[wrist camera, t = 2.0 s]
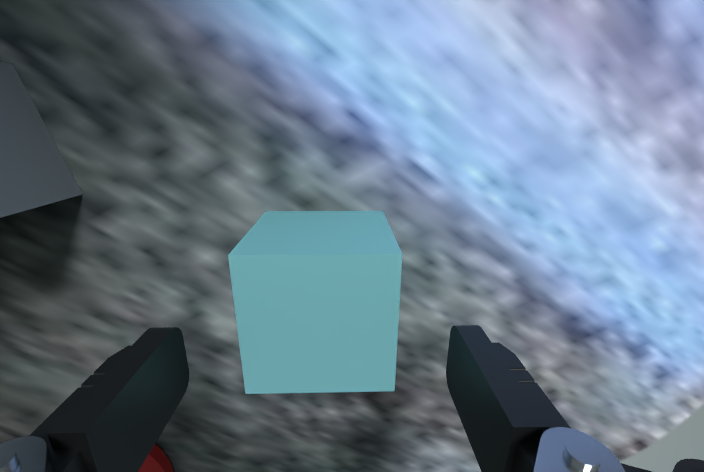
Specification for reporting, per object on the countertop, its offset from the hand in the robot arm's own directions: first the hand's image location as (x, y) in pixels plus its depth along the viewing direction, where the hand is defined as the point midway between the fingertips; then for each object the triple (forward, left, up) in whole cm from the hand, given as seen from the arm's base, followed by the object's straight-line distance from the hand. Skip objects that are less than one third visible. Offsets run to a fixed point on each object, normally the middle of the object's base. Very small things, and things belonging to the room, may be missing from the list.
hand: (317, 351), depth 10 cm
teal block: (0, 0, -6) cm, 6 cm away
